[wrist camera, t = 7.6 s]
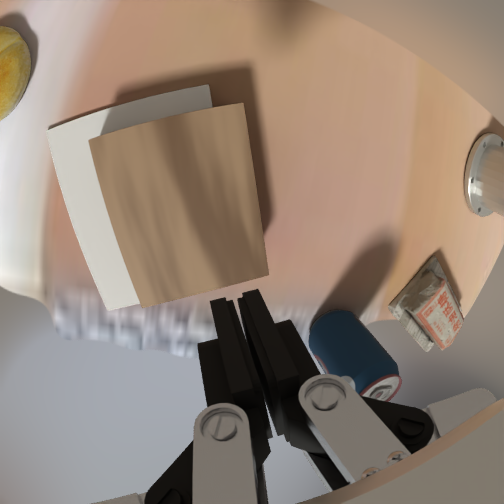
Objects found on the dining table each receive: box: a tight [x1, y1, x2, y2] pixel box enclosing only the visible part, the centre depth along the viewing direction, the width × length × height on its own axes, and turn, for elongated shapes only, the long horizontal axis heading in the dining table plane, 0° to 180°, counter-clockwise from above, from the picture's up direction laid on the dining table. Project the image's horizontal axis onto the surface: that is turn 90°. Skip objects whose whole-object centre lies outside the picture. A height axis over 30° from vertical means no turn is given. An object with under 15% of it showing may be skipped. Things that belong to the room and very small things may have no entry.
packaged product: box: [388, 256, 464, 352], centre depth 41 cm, size 18×5×10 cm
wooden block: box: [88, 103, 269, 308], centre depth 24 cm, size 4×14×11 cm
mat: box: [46, 84, 212, 311], centre depth 25 cm, size 14×18×1 cm
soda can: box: [309, 310, 402, 402], centre depth 32 cm, size 7×7×12 cm
